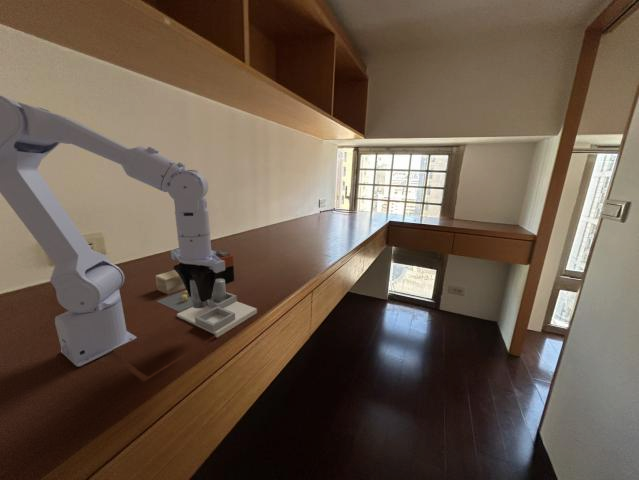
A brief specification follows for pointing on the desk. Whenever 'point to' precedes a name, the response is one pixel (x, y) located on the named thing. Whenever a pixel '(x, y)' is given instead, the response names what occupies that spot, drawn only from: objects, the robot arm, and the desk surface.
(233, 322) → the build board
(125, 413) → the desk surface
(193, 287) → the pin
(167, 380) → the desk surface
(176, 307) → the tile
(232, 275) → the battery
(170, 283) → the box
